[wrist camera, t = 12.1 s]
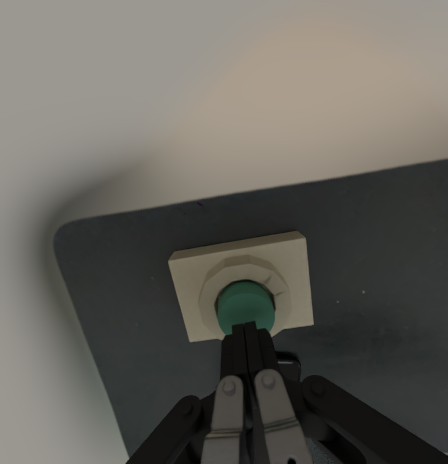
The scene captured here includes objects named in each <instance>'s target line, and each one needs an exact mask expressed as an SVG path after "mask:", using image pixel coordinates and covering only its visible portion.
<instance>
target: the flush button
mask: <svg viewBox="0 0 448 464" xmlns="http://www.w3.org/2000/svg"><path fill="white" fill-rule="evenodd" d="M251 321H255V322H256V326H257V329H261V328H266V329H267V330H268V331H269V332H270V331H271V329H272V327H273V325H274V322H275V312H274V308H273V305H272V302H271V299H270V296H269V294H268V292H267V291H266V290H265V289H264V288H263V287H262V286H260V285H259V284H257V283H254V282H250V281H240V282H236V283H233V284H231V285H230V286H228V287H227V288H226V289H225V290H224V291H223V292H222V294H221V296H220V298H219V305H218V323H219V326H220V328H221V330H222V331H223V332H224V334H225V335H230V334H232V325H235V324H240V323H243V324H244V323H245V322H251Z"/></svg>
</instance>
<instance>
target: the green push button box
mask: <svg viewBox="0 0 448 464" xmlns="http://www.w3.org/2000/svg"><path fill="white" fill-rule="evenodd" d="M168 263H169V267H170V271H171V274H172V278H173V282H174V286H175V289H176V293H177V297H178V300H179V304H180V308H181V311H182V315H183V319H184V322H185V326H186V330H187V333H188V337H189V341H190V342H195V341H202V340H209V339H216V338H218V339H220V340H223V339H224V337H225V334H224V332H223V331H222V330H221V328H220V326H219V323H218V305H219V298H220V296H221V294H222V292H223V291H224V290H225V289H226V288H227V287H228V286H230V285H231V284H233V283H236V282H240V281H250V282H254V283H257V284H259V285H260V286H262V287H263V288H264V289H265V290H266V291H267V292H268V294H269V296H270V299H271V302H272V305H273V308H274V312H275V322H274V325H273V327H272V329H271V331H270V334H271V337H272V336H274V335H275V334H277V333H278V332H280V331H281V330H282V329H287V328H294V327H301V326H308V325H313V324H314V323H313V312H312V301H311V290H310V279H309V268H308V257H307V246H306V238H305V237H304V236H303V235H302V234H301V233H299V232H298V231H292V232H286V233H280V234H274V235H268V236H262V237H256V238H251V239H245V240H239V241H233V242H227V243H221V244H215V245H209V246H204V247H198V248H192V249H186V250H180V251H175V252H174V253H173V254H172V256H171V257H170V259H169V260H168Z"/></svg>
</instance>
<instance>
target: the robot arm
mask: <svg viewBox="0 0 448 464" xmlns="http://www.w3.org/2000/svg"><path fill="white" fill-rule="evenodd" d="M221 350H222V351H221V377H220V381H219V383H218V384H217V386H216V390H215V391H214V392H213V393H212V394H211V395H209V396H207V397H205V398H203V399H201V400H199V398H198V397H196V396H193V395H189V396H186V397H184V398H182V399H181V400H180V401H179V402H178V403H177V404H176V405H175V406H174V407H173V409H172V410H171V411H170V412H169V413H168V414H167V416H166V417H165V418H164V419H163V420H162V421H161V423H160V424H159V425H158V426H157V427H156V428H155V430H154V431H153V432H152V433H151V434H150V435H149V437H148V438H147V439H146V440H145V441H144V442H143V444H142V445H141V446H140V447H139V448H138V450H137V451H136V452H135V453H134V454H133V455H132V457H131V458H130V459H129V460H128V461H127V462H126V464H256V458H255V431H254V423H253V409H254V408H257V404H258V408H259V409H260V413H261V418H262V423H263V430H264V435H265V440H266V445H267V450H268V455H269V460H270V464H314V461H313V458H312V456H311V453H310V450H309V447H308V444H307V442H306V439H305V437H307V438H311V439H312V441H313V442H314V443H315V444H316V446H318V447H319V448H320V449H321V450H322V451H323V452H324V453H325V454H326V455H327V456H328V457H329V458H331V459H332V460H333V461H334V462H335V463H336V464H448V456H447V455H445V454H444V453H442V452H441V451H439V450H438V449H436V448H434V447H433V446H431V445H430V444H428V443H427V442H425V441H423V440H422V439H420V438H419V437H417V436H416V435H414V434H412V433H411V432H409V431H408V430H406V429H404V428H403V427H401V426H400V425H398V424H397V423H395V422H393V421H392V420H390V419H389V418H387V417H386V416H384V415H382V414H381V413H379V412H378V411H376V410H375V409H373V408H371V407H370V406H368V405H367V404H365V403H364V402H362V401H360V400H359V399H357V398H356V397H354V396H353V395H351V394H349V393H348V392H346V391H345V390H343V389H342V388H340V387H338V386H337V385H335V384H334V383H332V382H330V381H329V380H327V379H326V378H324V377H322V376H318V375H312V376H308V377H306V378H305V379H304V380H303V382H297V381H292V380H290V379H288V378H286V377H285V376H284V375H283V374H282V373H281V371H280V368H279V365H278V361H277V357H276V353H275V349H274V345H273V342H272V338H271V334H270V332H269V331H268V330H267V329H266V328H261V329H257V326H256V322H255V321H251V322H245V323H244V324H243V323H240V324H235V325H232V334H230V335H225V337H224V339H223V341H222V348H221ZM256 400H257V403H256Z"/></svg>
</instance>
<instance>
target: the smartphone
mask: <svg viewBox="0 0 448 464" xmlns="http://www.w3.org/2000/svg"><path fill="white" fill-rule="evenodd" d="M276 357H277V361H278V365H279V368H280V371H281V373H282V374H283V375H284V376H285V377H286V378H288V379H290V380H292V381H297V382H299V381H300V374H301V364H300V362H299V360H298V359H296V358H294V357H285V356H276ZM256 403H257V400H256ZM253 423H254V431H255V458H256V464H270V460H269V455H268V450H267V445H266V440H265V435H264V430H263V423H262V418H261V413H260V409H259V408H258V404H257V408H254V409H253Z"/></svg>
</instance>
